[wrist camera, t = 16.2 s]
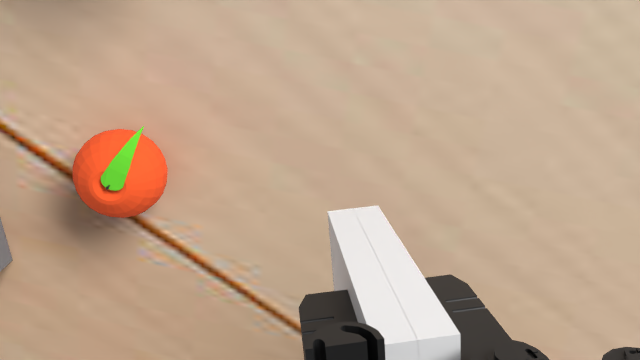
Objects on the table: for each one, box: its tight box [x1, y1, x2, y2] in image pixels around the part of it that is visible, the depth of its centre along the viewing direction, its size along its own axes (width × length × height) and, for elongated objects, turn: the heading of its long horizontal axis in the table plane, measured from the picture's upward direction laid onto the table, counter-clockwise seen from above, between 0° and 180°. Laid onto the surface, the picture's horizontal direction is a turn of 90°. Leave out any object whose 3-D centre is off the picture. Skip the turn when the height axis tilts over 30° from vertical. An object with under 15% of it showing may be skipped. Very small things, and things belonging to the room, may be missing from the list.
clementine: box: [73, 126, 167, 218], centre depth 40 cm, size 8×7×7 cm
